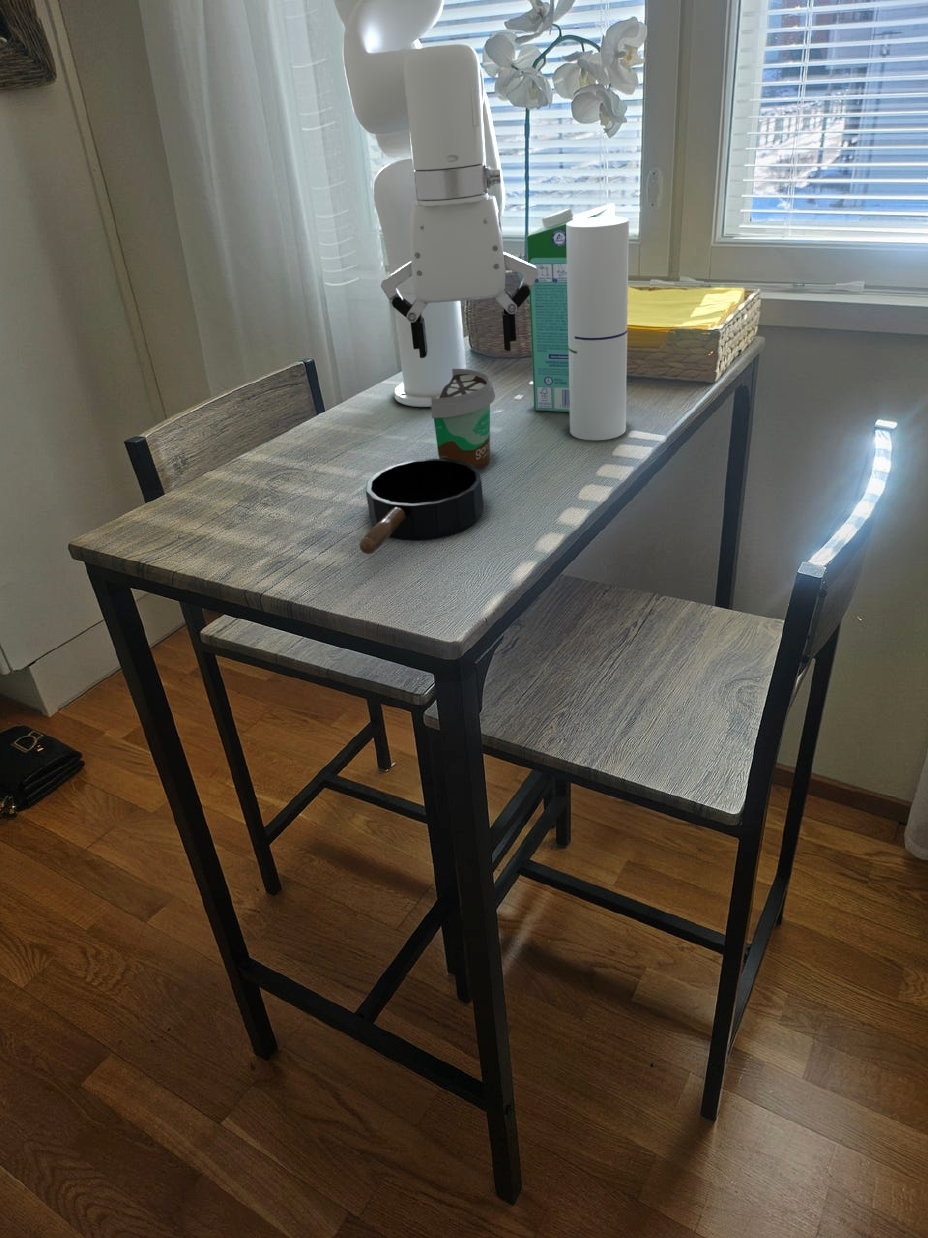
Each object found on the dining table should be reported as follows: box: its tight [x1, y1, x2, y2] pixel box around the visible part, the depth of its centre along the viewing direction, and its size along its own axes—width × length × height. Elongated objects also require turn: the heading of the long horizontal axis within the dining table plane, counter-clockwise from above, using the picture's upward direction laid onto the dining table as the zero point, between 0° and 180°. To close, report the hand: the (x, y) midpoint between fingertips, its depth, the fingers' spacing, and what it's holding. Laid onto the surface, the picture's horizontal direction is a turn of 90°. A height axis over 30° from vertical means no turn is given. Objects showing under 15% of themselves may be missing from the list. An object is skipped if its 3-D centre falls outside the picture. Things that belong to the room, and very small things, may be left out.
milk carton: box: [526, 203, 615, 413], centre depth 118 cm, size 9×9×25 cm
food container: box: [430, 368, 496, 471], centre depth 106 cm, size 12×6×10 cm, turn 168°
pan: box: [359, 458, 485, 555], centre depth 92 cm, size 21×12×4 cm, turn 159°
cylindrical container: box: [566, 215, 630, 441], centre depth 107 cm, size 7×7×25 cm
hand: (465, 351), depth 101 cm, fingers open, 9 cm apart
